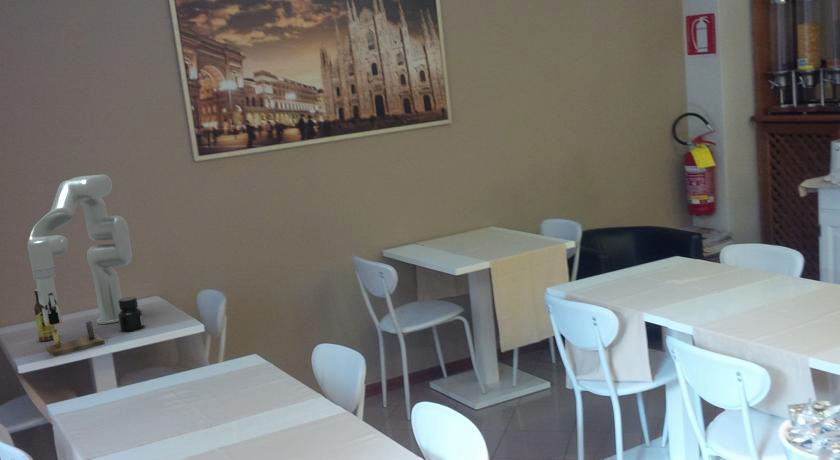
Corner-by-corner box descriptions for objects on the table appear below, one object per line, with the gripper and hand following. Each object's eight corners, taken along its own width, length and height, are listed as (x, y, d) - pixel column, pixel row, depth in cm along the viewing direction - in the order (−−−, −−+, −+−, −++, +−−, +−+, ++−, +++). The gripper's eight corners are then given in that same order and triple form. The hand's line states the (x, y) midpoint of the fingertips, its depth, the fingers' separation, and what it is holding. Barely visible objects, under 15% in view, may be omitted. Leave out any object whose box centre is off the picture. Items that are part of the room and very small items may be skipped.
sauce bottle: (45, 342, 347) (36, 291, 343) (35, 341, 350) (26, 291, 347) (60, 337, 352) (51, 287, 349) (50, 336, 355) (40, 287, 352)
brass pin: (61, 350, 332) (57, 329, 331) (62, 351, 330) (58, 329, 329) (55, 351, 331) (51, 330, 330) (56, 352, 329) (52, 331, 328)
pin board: (96, 338, 344) (92, 317, 342) (104, 343, 334) (101, 322, 332) (46, 350, 334) (42, 329, 333) (53, 356, 324) (49, 334, 323)
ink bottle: (149, 327, 352) (144, 297, 350) (128, 333, 345) (123, 302, 343) (136, 324, 358) (131, 295, 356) (116, 330, 352) (110, 300, 350)
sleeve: (44, 324, 329) (41, 308, 328) (59, 321, 332) (56, 305, 331) (47, 326, 325) (44, 310, 324) (62, 323, 328) (59, 307, 327)
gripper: (28, 273, 331) (37, 321, 334) (38, 278, 317) (47, 328, 319) (50, 269, 335) (58, 317, 338) (60, 274, 321) (69, 323, 323)
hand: (53, 322), depth 328 cm, fingers closed on sleeve, 5 cm apart
